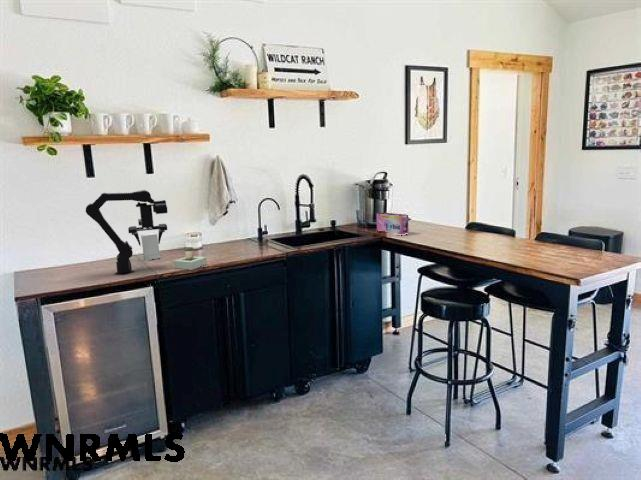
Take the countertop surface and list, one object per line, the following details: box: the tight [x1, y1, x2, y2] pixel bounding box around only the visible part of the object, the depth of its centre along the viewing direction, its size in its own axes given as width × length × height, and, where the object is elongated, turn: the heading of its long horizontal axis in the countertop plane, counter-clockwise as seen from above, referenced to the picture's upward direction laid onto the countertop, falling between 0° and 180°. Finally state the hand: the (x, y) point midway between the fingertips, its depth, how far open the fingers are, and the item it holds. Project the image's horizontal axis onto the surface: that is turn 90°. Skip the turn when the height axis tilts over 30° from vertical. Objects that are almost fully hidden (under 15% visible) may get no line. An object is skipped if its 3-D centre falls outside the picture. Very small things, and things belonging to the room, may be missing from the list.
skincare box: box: [140, 232, 161, 261], centre depth 279 cm, size 8×6×15 cm
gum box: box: [376, 212, 410, 234], centre depth 330 cm, size 24×8×14 cm, turn 39°
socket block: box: [172, 256, 208, 271], centre depth 257 cm, size 12×12×4 cm
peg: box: [184, 246, 195, 261], centre depth 257 cm, size 4×4×10 cm
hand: (149, 244), depth 252 cm, fingers open, 9 cm apart
